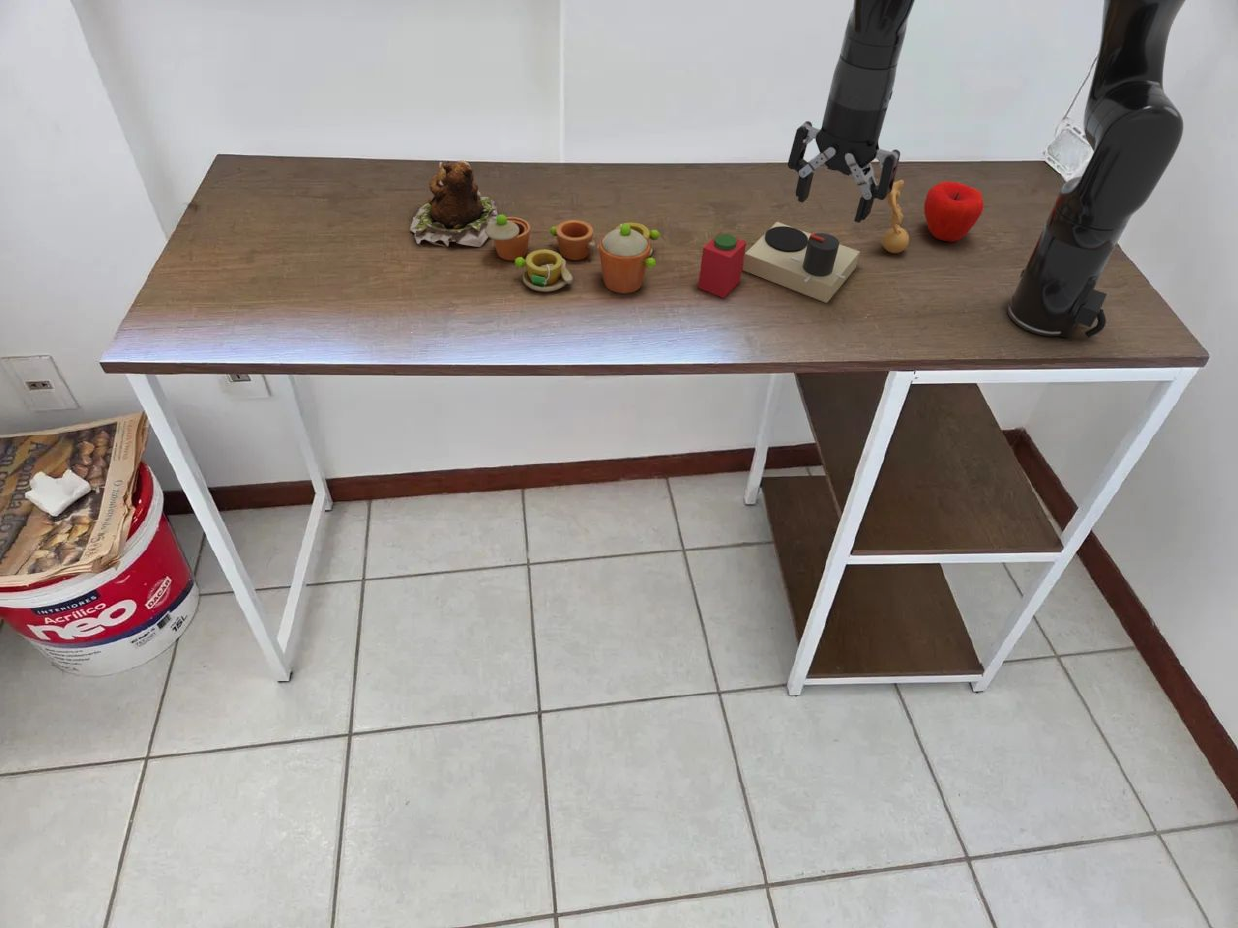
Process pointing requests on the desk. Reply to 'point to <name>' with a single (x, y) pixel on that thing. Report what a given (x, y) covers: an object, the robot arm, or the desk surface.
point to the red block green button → (721, 264)
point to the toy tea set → (576, 252)
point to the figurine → (895, 223)
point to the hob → (798, 268)
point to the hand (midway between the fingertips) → (830, 210)
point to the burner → (786, 239)
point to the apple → (952, 210)
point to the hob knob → (820, 254)
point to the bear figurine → (454, 208)
